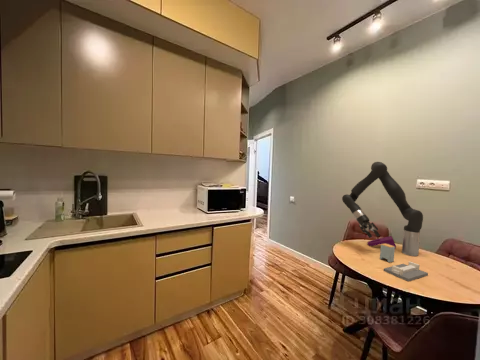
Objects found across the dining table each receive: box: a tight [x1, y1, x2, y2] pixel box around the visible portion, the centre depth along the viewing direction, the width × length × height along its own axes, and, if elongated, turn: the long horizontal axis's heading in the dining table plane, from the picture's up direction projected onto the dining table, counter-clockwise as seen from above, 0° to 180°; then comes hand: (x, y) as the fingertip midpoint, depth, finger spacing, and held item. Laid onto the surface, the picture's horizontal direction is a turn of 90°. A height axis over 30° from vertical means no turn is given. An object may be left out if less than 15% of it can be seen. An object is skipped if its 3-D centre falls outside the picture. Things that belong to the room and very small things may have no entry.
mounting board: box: [383, 261, 429, 282], centre depth 126 cm, size 20×13×5 cm, turn 116°
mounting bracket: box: [366, 235, 397, 250], centre depth 171 cm, size 10×8×18 cm
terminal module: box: [379, 243, 396, 263], centre depth 144 cm, size 5×6×10 cm
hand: (374, 236), depth 152 cm, fingers open, 8 cm apart
